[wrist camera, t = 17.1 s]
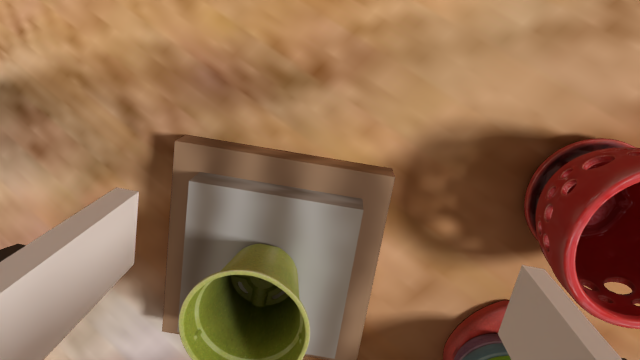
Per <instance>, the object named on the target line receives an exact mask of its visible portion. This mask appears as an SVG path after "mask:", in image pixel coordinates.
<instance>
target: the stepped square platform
mask: <svg viewBox="0 0 640 360" xmlns="http://www.w3.org/2000/svg"><path fill="white" fill-rule="evenodd" d="M394 180H395V175H394V173H393V170H392V169H391V168H385V167H378V166H372V165H366V164H360V163H354V162H348V161H342V160H336V159H330V158H324V157H318V156H312V155H306V154H300V153H293V152H287V151H281V150H275V149H269V148H263V147H257V146H251V145H245V144H239V143H233V142H227V141H221V140H215V139H209V138H202V137H196V136H190V135H185V136H183V137H181V138H179V139H177V140H175V145H174V160H173V175H172V190H171V206H170V221H169V236H168V251H167V266H166V282H165V297H164V312H163V327H162V331H163V332H169V333H175V334H180V333H179V314H180V310H181V307H182V304H183V302H184V300H185V298H186V297H187V295H188V294H189V292H190V291H191V290H192V289H193V288H194V286H195V285H197V284H198V283H199V282H200V281H201V280H203V279H204V278H206V277H208V276H210V275H212V274H214V273H217V272H219V271H221V270H222V269H223V268H224V267H225V266H226V265H227V264H228V263H229V262H230V261H231V260H232V259H233V258H234V256H235V255H236V254H237V253H238V252H239V251H241V250H242V249H244V248H245V247H247V246H250V245H254V244H265V245H270V246H275V247H278V248H281V249H282V250H283V251H285V252H286V253H287V254H288V255H289V256H290V257H291V258H292V260H293V261H294V263H295V265H296V268H297V273H298V284H299V298H300V301H301V302H302V304H303V306H304V308H305V310H306V312H307V315H308V319H309V324H310V340H309V345H308V348H307V351H306V353H305V355H304V356H309V357H315V358H321V359H327V360H357V357H358V352H359V347H360V343H361V338H362V333H363V328H364V323H365V319H366V314H367V309H368V304H369V300H370V295H371V290H372V285H373V280H374V276H375V271H376V266H377V261H378V257H379V252H380V247H381V242H382V238H383V233H384V228H385V223H386V218H387V214H388V209H389V204H390V199H391V195H392V190H393V185H394ZM238 285H239V287H240V289H241V290H242V291H244V292H245V293H248V292H247V291H246V289H245V288H244V287H243V285H242V283H241V282H238ZM284 293H285V292H284V291H283V290H282V291H281V292H280V293H278V294H276V295H275V296H272V299H277V298H279V297H280V296H281V295H283V294H284Z"/></svg>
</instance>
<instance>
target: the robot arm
mask: <svg viewBox="0 0 640 360" xmlns="http://www.w3.org/2000/svg"><path fill="white" fill-rule="evenodd" d="M138 197H139V192H138V191H133V190H128V189H122V188H117V187H116V188H115V189H113V190H112V191H110V192H109V193H107V194H105V195H104V196H102V197H101V198H99V199H98V200H96V201H95V202H93V203H91V204H90V205H88V206H87V207H85V208H84V209H82V210H81V211H79V212H77V213H76V214H74V215H73V216H71V217H70V218H68V219H67V220H65V221H63V222H62V223H60V224H59V225H57V226H56V227H54V228H53V229H51V230H49V231H48V232H46V233H45V234H43V235H42V236H40V237H39V238H37V239H35V240H34V241H32V242H31V243H29V244H28V245H21V244H16V245H13V246H10V247H7V248H4V249H1V250H0V360H44V359H45V358H46V357H47V356H48V355H49V353H50V352H51V351H52V350H53V349H54V348H55V347H56V346H57V345H58V344H59V343H60V342H61V341H62V340H63V339H64V338H65V337H66V335H67V334H68V333H69V332H70V331H71V330H72V329H73V328H74V327H75V326H76V325H77V324H78V323H79V322H80V321H81V320H82V319H83V318H84V316H85V315H86V314H87V313H88V312H89V311H90V310H91V309H92V308H93V307H94V306H95V305H96V304H97V303H98V302H99V301H100V300H101V298H102V297H103V296H104V295H105V294H106V293H107V292H108V291H109V290H110V289H111V288H112V287H113V286H114V285H115V284H116V283H117V282H118V281H119V279H120V278H121V277H122V276H123V275H124V274H125V273H126V272H127V271H128V270H129V269H130V268H131V267H132V266H133V265H134V258H135V243H136V227H137V212H138ZM498 335H499V337H500V339H501V341H502V343H503V345H504V347H505V348H506V350H507V352H508V354H509V356H510V358H511V360H626V359H625V358H621V357H620V356H619V355H618V354H617V353H616V352H615V351H614V349H613V348H612V347H611V346H610V345H609V344H608V342H607V341H606V340H605V339H604V338H603V337H602V335H601V334H600V333H599V332H598V331H597V330H596V328H595V327H594V326H593V325H592V324H591V323H590V322H589V320H588V319H587V318H586V317H585V316H584V315H583V313H582V312H581V311H580V310H579V309H578V308H577V306H576V305H575V304H574V303H573V302H572V301H571V300H570V298H569V297H568V296H567V295H566V294H565V293H564V291H563V290H562V289H561V288H560V287H559V286H558V284H557V283H556V282H555V281H554V280H553V279H552V277H551V276H550V275H549V274H548V273H547V272H546V271H545V269H540V268H535V267H530V266H525V265H522V267H521V269H520V272H519V275H518V278H517V281H516V284H515V286H514V289H513V292H512V295H511V298H510V301H509V303H508V306H507V309H506V312H505V315H504V318H503V320H502V323H501V326H500V329H499V332H498Z"/></svg>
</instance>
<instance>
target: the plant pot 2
mask: <svg viewBox="0 0 640 360" xmlns="http://www.w3.org/2000/svg"><path fill="white" fill-rule="evenodd" d="M524 209H525V217H526V221H527V224H528V226H529V229H530V230H531V232H532V234H533V235H534V237H535V238H536V239H537V240H538V241H539V244H540V247H541V249H542V252H543V254H544V256H545V258H546V260H547V261H548V263H549V265H550V266H551V268H552V270H553V272H554V274H555V276H556V277H557V279H558V280H559V282H560V283H561V284H562V286H563V287H564V288H565V289H566V291H567V292H568V293H569V294H570V295H571V296H572V298H573V299H574V300H575V301H576V302H577V303H578V304H579V305H580V306H581V307H582V308H583V309H584V310H586V311H587V312H588V313H590V314H591V315H593V316H594V317H597V318H599V319H601V320H603V321H605V322H608V323H610V324H613V325H617V326H621V327H626V328H635V329H640V306H636V305H634V304H636V303H639V304H640V148H635V147H634V146H632V145H629V144H627V143H625V142H622V141H618V140H613V139H603V138H600V139H587V140H582V141H579V142H575V143H572V144H570V145H567V146H565V147H563V148H561V149H560V150H558V151H556V152H555V153H554V154H552V155H551V156H550V157H548V158H547V159H546V160H545V161H544V162H543V163H542V164H541V165H540V166H539V168H538V169H537V170H536V172H535V173H534V175H533V177H532V178H531V180H530V183H529V185H528V188H527V191H526V195H525V202H524ZM607 282H618V283H622V284H625V285H627V286H629V287H630V288H631V289H632V293H630V294H624V295H622V294H616V293H614V292H612V291H609V290H608V289H607V288H606V287H605V286H604V283H607ZM583 285H585V286H587V287H589V288H590V289H592V290H590V289H588V288H586V287H584V286H583Z"/></svg>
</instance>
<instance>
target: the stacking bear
mask: <svg viewBox="0 0 640 360" xmlns="http://www.w3.org/2000/svg"><path fill="white" fill-rule="evenodd" d="M508 303H509V301H508V300H506V301H500V302H497V303H494V304H491V305H489V306H486V307H484V308H482V309H480V310H478V311H477V312H475V313H473V314H472V315H470V316H469V317H468V318H466V319H465V320H464V321H463V322H462V323H461V324H460V325H459V326H458V327H457V328H456V329H455V330H454V331H453V333H452V334H451V335H450V337H449V338H448V340H447V342H446V344H445V348H444V352H443V360H511V358H510V356H509V354H508V352H507V350H506V348H505V347H504V345H503V343H502V341H501V339H500V337H499V335H498V332H499V329H500V326H501V323H502V320H503V318H504V315H505V312H506V309H507V306H508Z"/></svg>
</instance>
